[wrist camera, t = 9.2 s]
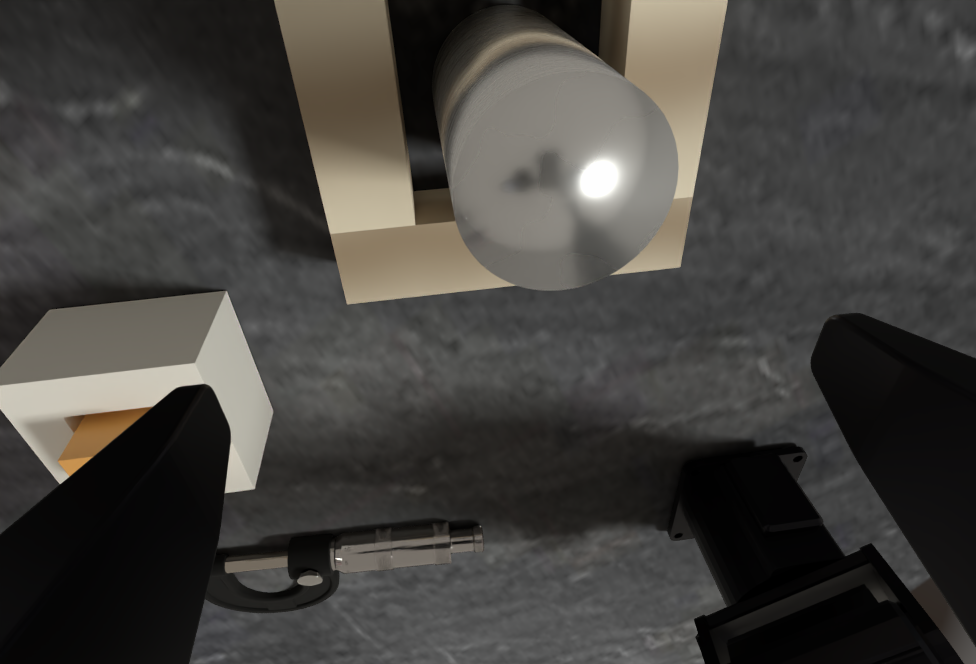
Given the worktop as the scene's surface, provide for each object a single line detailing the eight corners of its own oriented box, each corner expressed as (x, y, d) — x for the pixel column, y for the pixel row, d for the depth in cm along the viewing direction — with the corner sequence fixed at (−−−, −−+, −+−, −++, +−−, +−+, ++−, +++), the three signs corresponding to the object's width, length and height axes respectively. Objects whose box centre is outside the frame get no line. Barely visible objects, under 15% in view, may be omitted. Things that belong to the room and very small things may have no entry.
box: (273, 411, 24) (254, 489, 21) (124, 429, 23) (81, 512, 20) (226, 290, 20) (195, 363, 17) (49, 309, 20) (-18, 387, 17)
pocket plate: (653, 232, 21) (680, 267, 19) (352, 264, 20) (347, 304, 18) (708, -161, 14) (758, -171, 12) (262, -136, 14) (239, -142, 12)
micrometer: (222, 609, 33) (210, 655, 31) (184, 537, 29) (167, 585, 27) (479, 581, 35) (484, 623, 33) (480, 508, 30) (486, 551, 28)
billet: (572, 152, 19) (662, 278, 12) (439, 165, 19) (461, 301, 12) (578, -2, 16) (696, 60, 10) (423, 10, 16) (441, 82, 10)
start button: (194, 430, 21) (168, 498, 18) (129, 438, 20) (94, 508, 18) (170, 383, 19) (138, 450, 17) (99, 391, 19) (57, 461, 17)
